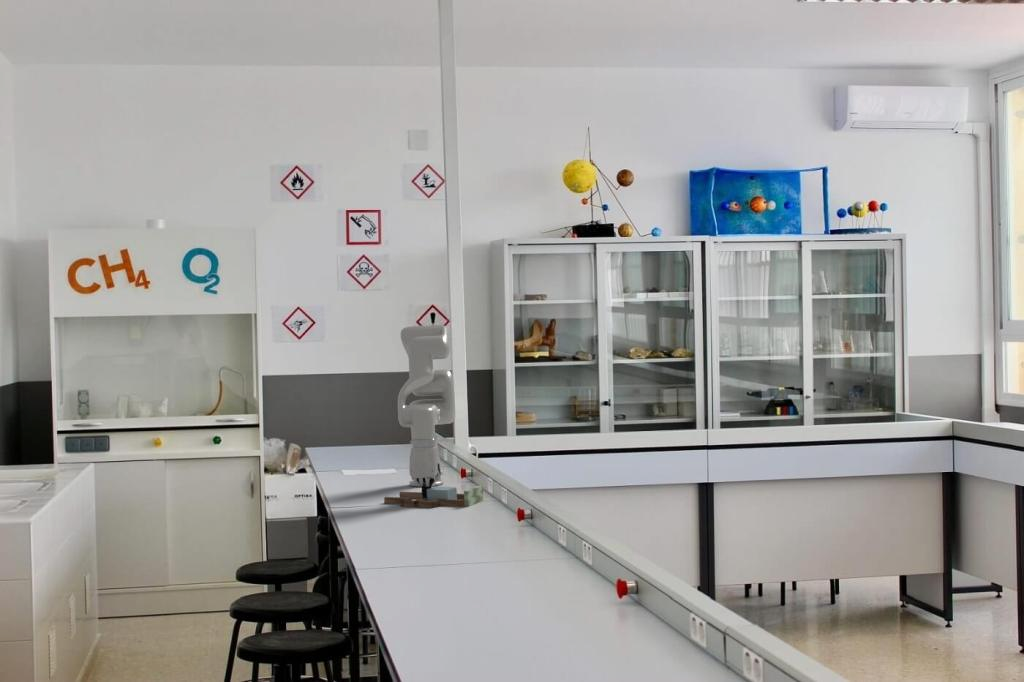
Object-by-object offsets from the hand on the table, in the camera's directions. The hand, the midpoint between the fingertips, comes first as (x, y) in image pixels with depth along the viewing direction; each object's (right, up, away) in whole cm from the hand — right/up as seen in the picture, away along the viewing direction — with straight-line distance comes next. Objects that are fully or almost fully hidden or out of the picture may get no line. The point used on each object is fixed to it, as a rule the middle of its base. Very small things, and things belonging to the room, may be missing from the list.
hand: (427, 497), depth 373 cm
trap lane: (+1, -1, -3) cm, 3 cm away
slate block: (+5, -1, -4) cm, 7 cm away
